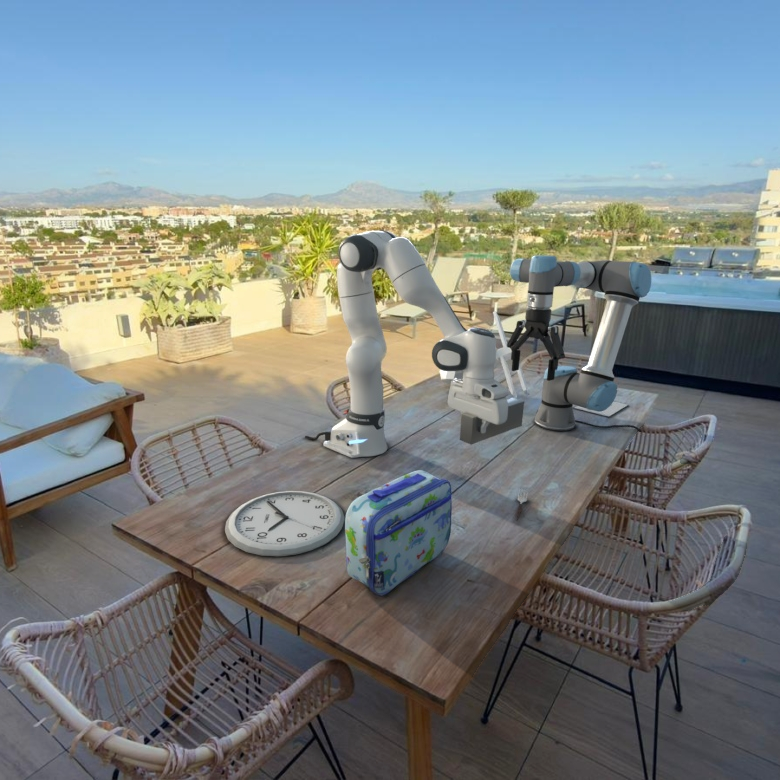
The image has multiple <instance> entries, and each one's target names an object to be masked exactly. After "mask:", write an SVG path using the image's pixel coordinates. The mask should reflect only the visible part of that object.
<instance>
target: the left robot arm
mask: <svg viewBox="0 0 780 780" xmlns="http://www.w3.org/2000/svg"><path fill="white" fill-rule="evenodd" d="M338 259H339V261H340V262H339V264H338V265H337V268H336V283H337V292H338V298H339V303H340V309H341V315H342V319H343V320H342V321H343V323H344V324H345V326H346V329H347V331H348V334H349V337H350V340H351V345H350V346H349V347H348V348H347V351H346V354H345V365H346V368H347V376H348V381H349V389H350V390H349V395H350V397H349V398H350V399H349V400H350V405H349V406H350V407H349V408H347V409H346V410H344V411H343V415H346V417H345V418H343V419H342V420H341V421H339V422H338V423H336V424H335V425H334V426H332V425H331V426H330V427H328V428H327V429H326V430H325V431H322V432H319V433H318V434H316V436H315V437H312V436H308V435H305V436H304V439H307V440H311V441H316V440H318V439H319V438H320V437H321V436H324V441H323V447H324V448H327V449H329V450H331V451H334V452H336V453H338V454H341V455H343V456H346V457H349V458H352V459H354V458H355V459H356V458H361V457H363V458H364V457H375V456H379V455H382V454H384V453H386V452H387V450H388V448H389V447H388V445H387V444H388V443H387V441H386V437H385V436H386V434H385V420H386V419H385V408H384V385H383V383H384V382H383V376H382V365H383V364H382V363H383V361H384V359H385V358H386V356H387V351H388V350H387V349H388V347H387V342H386V340H385V336H384V332H383V328H382V325H381V322H380V319H379V314H378V309H377V303H376V297H375V291H374V286H373V278H372V277H373V273H374V272H375V270H376V271H381V270H384V271H385V273H386V274H387V276H388V278H389V280H390V282H391V284H392V285H393V287H394V290H395V291H396V293H397V294H398V296H399V297H400V298H401V299H402V300H403V301H404V303H406V304H408V305H411V306H415V307H417V308H420V309H422V310H424V311H426V312H427V313H428V314H429V315H430V316H431V317H432V319H433V321H434V322H435V324H436V325H437V327H438V328H439V330H440V332H441V334H442V335H443V337H444V338H442V339H441V340H439V341H438V342H436V343H435V344H434V345H433V347H432V350H431V359H432V362H433V364H434V365H435V367H436V368H438V369H439V370H443V371H463V380H459V379H457V378H455V379H453V380H452V381H451V383H450V385H449V390H448V395H447V406H448V408H450V409H452V410H455V411H458V412H460V416H461V415H462V413H465V412H467V413H470V414H472V415H475V416H477V417H478V418H480V419H482V423H483V424H482V426H479V428H478V429H479V430H478V432H480V433H482V434H483V433H485V432H486V427H487V426H488V424H489V423H490V422H491V423H493V424H496V425H499V424H502V423H504V422H505V421H506V420H507V416H508V401H507V399H508V398H507V396H508V395H509V388H507V387H505V386H504V385H503V384H501V383H500V382H499V381H498V380H496V378H495V369H494V364H495V362H496V350H497V338H496V336H495V334H494V333H493V332H492V331H490V330H489V329H486V328H481V327H471V328H468V329H467V328H465V326H464V325H463V324H462V322H461V321H460V320H459V318H458V316H457V315H456V313H455V311H454V310H453V308H452V306H451V304H449V302H448V299H446V296H445V295H444V294H443V292H442V291H441V289H440V287H439V286H438V285H437V283H436V281H435V278H434V277H433V276H432V274H431V272H430V270H429V268H428V266H427V264H426V262H425V261H424V259H423V257H422V256H421V254H420V252H419V251H418V250H417V248H416V247H415V245H414V244H413V243H412V242H411V241H410V239H408V238H407V237H405V236H396V235H395V234H394V233H393V232H391V231H388V230H383V229H379V230H368V231H364V232H362V233H357V234H351V235H350V236H347V237H345V238H344V239H343V240H342V241H341V242H340V244H339V247H338ZM493 369H494V370H493Z"/></svg>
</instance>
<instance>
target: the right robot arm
mask: <svg viewBox="0 0 780 780" xmlns="http://www.w3.org/2000/svg"><path fill="white" fill-rule="evenodd" d="M509 274H510V275H509V276H510V278H511V280H513V281H514V282H518V283H528V288H527V289H528V290H527V295H526V306H527V308H526V309H525V320H524V319H521V320H517V321H516V324H515V325H516V327H515V328H514V330H513V332H512V334H511V335H510V337H509V340H508V341H507V347H508V348H510V349H511V350H512V352H511V361H512V362H511V371H512V372H515V371H516V372H517V370H519V362H520V361H521V349H520V348H521V347H522V346H523V345H524V344H525V343H526V342H527V340H528V339H529V338H532V339H533V338H534V339H537V340H539V341H540V342H541V343H542V344H543V345H544V348H545V350H546V351H547V353H548V355H549V357H550V359H548V366H547V368H546V369H545V371H544V375H543V378H542V379H543V381H542V382H543V383H542V394H541V402H540V405H539V407H538V409H537V411H536V413H535V417H534V424H535V425H536V426H537V427H539V428H542V429H544V430H549V431H556V432H567V431H572V430H574V429H575V428H576V423H577V424H582V425H585V426H589V427H591V428H592V427H593V428H598V429H611V428H632V429H635V430H636V431H637V432H639V433H642V432H643V431H642V429H640V428H639V427H637V426H635V425H632V424H612V425H597V424H593V423H589V422H585V421H581V420H578V419H576V418H575V417H576V416H575V413H574V407H573V405H574V406H580V407H583V408H586V409H588V410H594V411H598V412H601V411H604V410H606V409H607V408H608V407H610V405H611V404H612V403H613V401H614V402H615V399H616V397H617V394H618V385H617V384H616V382H615V381H614V380H615V376H614V374H613V369H614V366H615V362H616V360H617V356H618V353H619V349H620V347H621V344H622V340H623V337H624V334H625V331H626V327H627V324H628V321H629V318H630V315H631V312H632V309H633V307H634V306H636V305H638V304H639V302H640V300H641V299H640V298H645V297H647V296H648V294H649V292H650V290H651V286H652V273H651V269H650V267H649V266H648V264H646V263H644V262H637V261H626V260H625V261H623V260H610V259H609V260H608V259H606V260H604V259H603V260H592V261H586V260H582V261H578V262H576V261H572V260H564V261H563V260H558V258H557V256H555V255H546V254H545V255H533V256H532V257H531V258H516V259H514V260H513V262H512V263H511V265H510V268H509ZM569 286H575V287H576V288H578V289H586V290H589V291H594V292H599V293H603V294H604V295H603V297H604V299H605V300H606V304H605V306H604V310H603V313H602V317H601V320H600V323H599V325H598V329H597V333H596V335H595V339H594V341H593V342H594V343H593V345H592V349H591V352H590V354H589V359H588V362H587V365H586V366H584V367H582V368H581V369H580V372H579V373H578V368H577V367H576V366H571V365H570V366H569V365H559V360H563V359H565V358H566V354H565V351H564V347H563V344H562V341H561V337H560V334H559V330H560V329H559V326H557V325H556V326H550V322H551V319H552V309H551V308H552V307H553V302H554V301H553V300H554V289H555V287H556V288H557V287H569ZM524 329H525V331H524ZM523 331H524V332H523ZM521 334H522V335H521Z"/></svg>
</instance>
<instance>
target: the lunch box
mask: <svg viewBox="0 0 780 780" xmlns="http://www.w3.org/2000/svg"><path fill="white" fill-rule="evenodd" d="M452 503H453V501H452V484H451V483H450V481H449V480H448V479H445V478H438V477H436V476H435V475H433V474H431V473H429V472H427V471H424V470H422V469H418V470H414V471H411V472H409V473H407V474H404V475H402V476H399V477H398V478H396V479H393V480H391V481H388V482H387V483H385V484H382V485H381V486H379V487H377V488H373V489H372V490H370V491H368V492H367V493H363V494H362V495H360V496H358V497H356V498H355V499H354V500H353V501H352V502H351V503H350V504H349V506H348V508H347V511H346V513H345V516H344V535H345V561H346V571H347V574H348V576H349V577H350V578H352V579H354V580H356V581H358V582H359V583H361V584H363V585H364V586H366V587H367V588H369V590H370V591H371V592H372V593H374V594H376V595H378V596H385V595H386V594H389V593H390V592H391V591H392V590H393V589H395V588H396V587H397V586H398V585H400V584H401V583H402V582H404V581H405V580H407V579H409V578H410V577H411V576H412V575H414V574H415V573H416V572H418V571H419V570H420V569H421V568H422V567H424V566H425V565H427V564H428V563H430V562H431V561H433V560H435V559H436V558H438V557H440V556H441V554H442V553H443V552H444V551H445V549H446V548H447V546H448V543H449V540H450V537H451V533H452V532H451V531H452V511H453V510H452V509H453V508H452V507H453V504H452Z"/></svg>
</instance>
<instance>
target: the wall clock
mask: <svg viewBox="0 0 780 780" xmlns="http://www.w3.org/2000/svg"><path fill="white" fill-rule="evenodd" d="M344 515H345V514H344V511H343V509H342V508H341V507H340V505H338V503H336V502H335V501H334V500H333V499H332V500H331V499H330V498H329V497H327V496H324V495H322V494H318V493H316V492H311V491H310V492H309V491H305V490H304V491H303V490H284V491H276V492H272V493H267V494H264V495H260V496H257V497H255V498H252V499H250V500H248V501H246V502H245V503H243V504H241V505H240V506H238V508H236V509H235V510H233V511H232V512H231V513H230V515H229V517H228V518H227V520H226V521H225V527H224V532H225V536H226V538H227V540H228V541H229V542H230V544H231V545H233V546H234V547H235V548H237V549H240V550H241V551H244V552H245V553H248V554H252V555H256V556H262V557H287V556H294V555H296V556H297V555H299V554H304V553H307V552H311V551H313V550H316V549H318V548H320V547H322V546H324V545H327V544H328V543H329V542H331V541H332V540H333V539H335V538H336V537H337V536H338V534H339V533H340V532H341V530H342V529H343V527H344V524H345V516H344Z"/></svg>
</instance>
